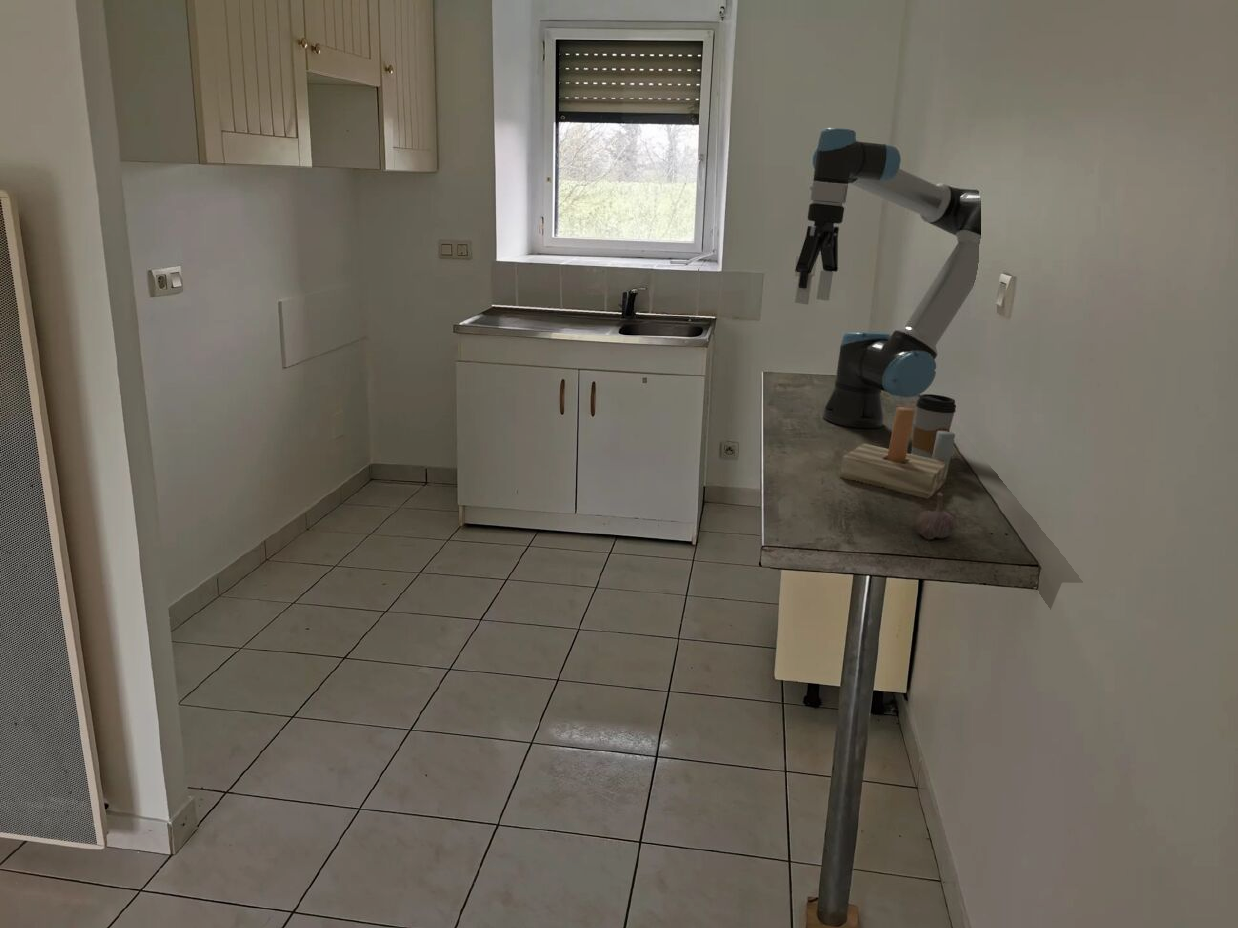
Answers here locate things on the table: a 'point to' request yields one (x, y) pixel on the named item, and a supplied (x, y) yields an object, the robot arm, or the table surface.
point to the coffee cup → (931, 422)
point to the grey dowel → (943, 446)
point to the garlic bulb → (935, 522)
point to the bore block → (894, 471)
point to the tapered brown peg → (900, 435)
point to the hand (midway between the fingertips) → (812, 301)
